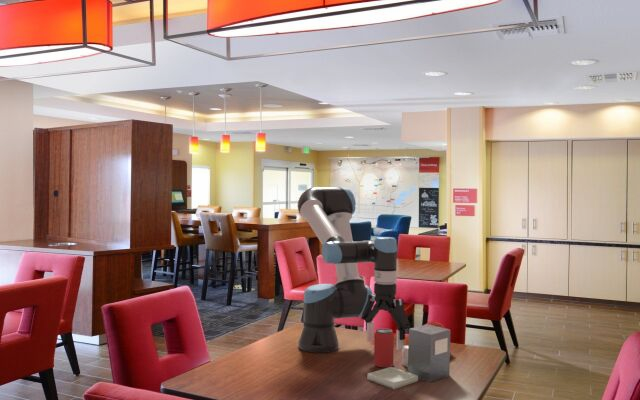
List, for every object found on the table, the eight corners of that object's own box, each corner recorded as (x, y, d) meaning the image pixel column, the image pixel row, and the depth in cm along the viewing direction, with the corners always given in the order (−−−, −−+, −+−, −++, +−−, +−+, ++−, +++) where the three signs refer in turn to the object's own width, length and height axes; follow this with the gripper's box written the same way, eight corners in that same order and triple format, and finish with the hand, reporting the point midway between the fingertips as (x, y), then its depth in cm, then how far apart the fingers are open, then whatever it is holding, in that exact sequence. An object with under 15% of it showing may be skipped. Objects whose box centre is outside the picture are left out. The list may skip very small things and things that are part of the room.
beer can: (392, 369, 188) (393, 333, 188) (373, 367, 190) (373, 332, 189) (394, 363, 195) (394, 328, 194) (375, 361, 196) (375, 327, 196)
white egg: (398, 364, 194) (399, 347, 193) (408, 361, 197) (408, 344, 197) (410, 368, 190) (410, 350, 190) (419, 365, 193) (420, 347, 193)
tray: (367, 379, 178) (367, 373, 178) (391, 372, 185) (391, 366, 185) (394, 389, 169) (394, 383, 169) (417, 381, 177) (418, 375, 177)
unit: (406, 374, 183) (407, 328, 183) (426, 368, 190) (427, 324, 189) (430, 382, 176) (431, 334, 176) (450, 375, 182) (451, 329, 182)
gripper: (351, 279, 198) (351, 339, 199) (406, 288, 180) (405, 354, 180) (366, 277, 203) (366, 336, 203) (421, 286, 185) (420, 350, 185)
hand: (384, 345), depth 192 cm, fingers open, 13 cm apart
